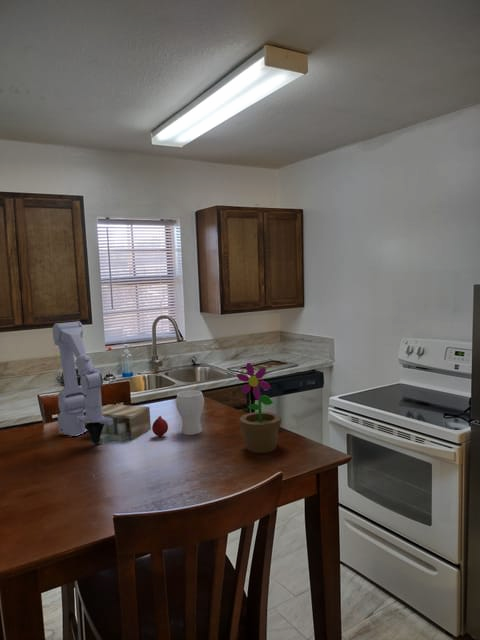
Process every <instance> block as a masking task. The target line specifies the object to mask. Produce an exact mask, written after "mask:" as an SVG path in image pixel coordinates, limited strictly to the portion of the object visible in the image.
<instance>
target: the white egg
mask: <svg viewBox="0 0 480 640" xmlns="http://www.w3.org/2000/svg"><path fill="white" fill-rule="evenodd" d="M117 432H118V435H119V436H122V435H124V434H125V433H127V427H126V422H119V423H117Z"/></svg>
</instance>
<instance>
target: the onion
mask: <svg viewBox="0 0 480 640" xmlns="http://www.w3.org/2000/svg"><path fill="white" fill-rule="evenodd" d="M151 426H152V427H151V431H152V432H153V434H155V436H157V437H159V438H162V437H163V436H164V435H165V434H167V432H168V430H169V425H168V422H167V421H166V420H165V419H164V418H163V417H162V415H158V417H157V418H156V419H155V420H154V422H153V423H152V425H151Z"/></svg>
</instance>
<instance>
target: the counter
mask: <svg viewBox="0 0 480 640" xmlns="http://www.w3.org/2000/svg"><path fill="white" fill-rule="evenodd" d="M102 415H103V416H105V417H109V418H117V423H119V422H126V427H127V428H130V431H131V436H130V440H134V441H135V440H137V438H139V437H141V436H143V435H144V434H145V433H147V432H149V431H150V430H152V427H151V426H152V424H151V423H152V422H151V410H150V406H140V405H126V404H125V405H123V404H107V405H105V406H102Z"/></svg>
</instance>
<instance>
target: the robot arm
mask: <svg viewBox="0 0 480 640" xmlns="http://www.w3.org/2000/svg"><path fill="white" fill-rule="evenodd" d="M83 334H84V327H83V324H82V322H81V321H79V320H76V321H71V322H61V323H60V322H56V323H54V324H53V327H52V338H53V343H54V345H55V346H58V348H59V356H60V362H61V369H62V376H63V383H64V387H63V388H62V389H61V390H60V391H59V392H58V395H57V396H58V398H57V399H58V400H57V401H58V402H57V405H58V409H59V411H60V413H58V415H57V416H58V417H57V424H58V426H57V427H58V434H59V433H64V434H68V435H71V436H70V437H72V436H75V435H76V436H78V435H80V434H82V435H84V434H85V433H84V432H86V431H88V433H89V436H90V439H91V440H92V443H93V444H96V443H98V442H100V436H101V432H102V429H103V427H104V425H105V424H108V425H111V424H113V418H109V417H105V416H103V415H102V407H103V405H102V392H101V391H102V390H101V387H103V385H104V378H103V375H102V372H100V371H99V369H97V368H96V367H95V365H94V362H93V359H92V357H91V355H88V354H87V353H86V349H85V346H84V343H83V339H82V338H83V337H84V336H83ZM75 358H76V359H75ZM77 371H78V373H79V376H80V380H79V381H80V386H79V384H78V377H77ZM84 411H85V413H84ZM83 433H84V434H83ZM86 433H87V432H86ZM80 436H81V435H80ZM78 437H79V436H78Z"/></svg>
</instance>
